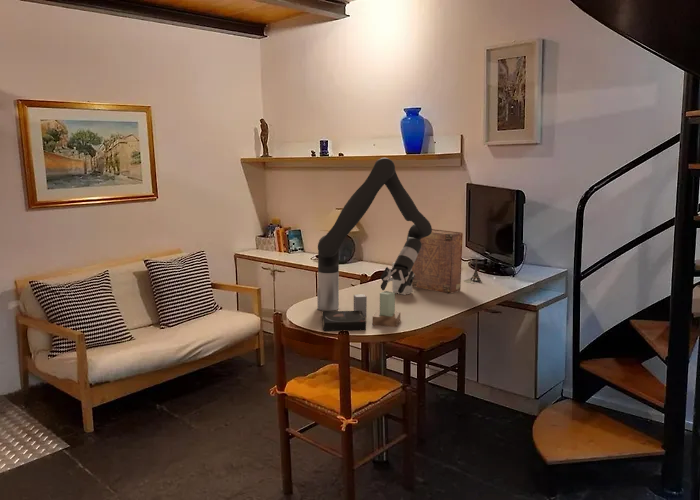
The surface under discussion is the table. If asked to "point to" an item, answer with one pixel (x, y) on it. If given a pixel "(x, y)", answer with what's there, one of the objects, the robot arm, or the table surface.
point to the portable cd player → (343, 320)
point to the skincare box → (397, 284)
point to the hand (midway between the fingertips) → (390, 290)
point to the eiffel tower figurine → (474, 276)
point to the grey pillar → (360, 303)
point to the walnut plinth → (386, 319)
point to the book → (439, 262)
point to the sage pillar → (387, 303)
